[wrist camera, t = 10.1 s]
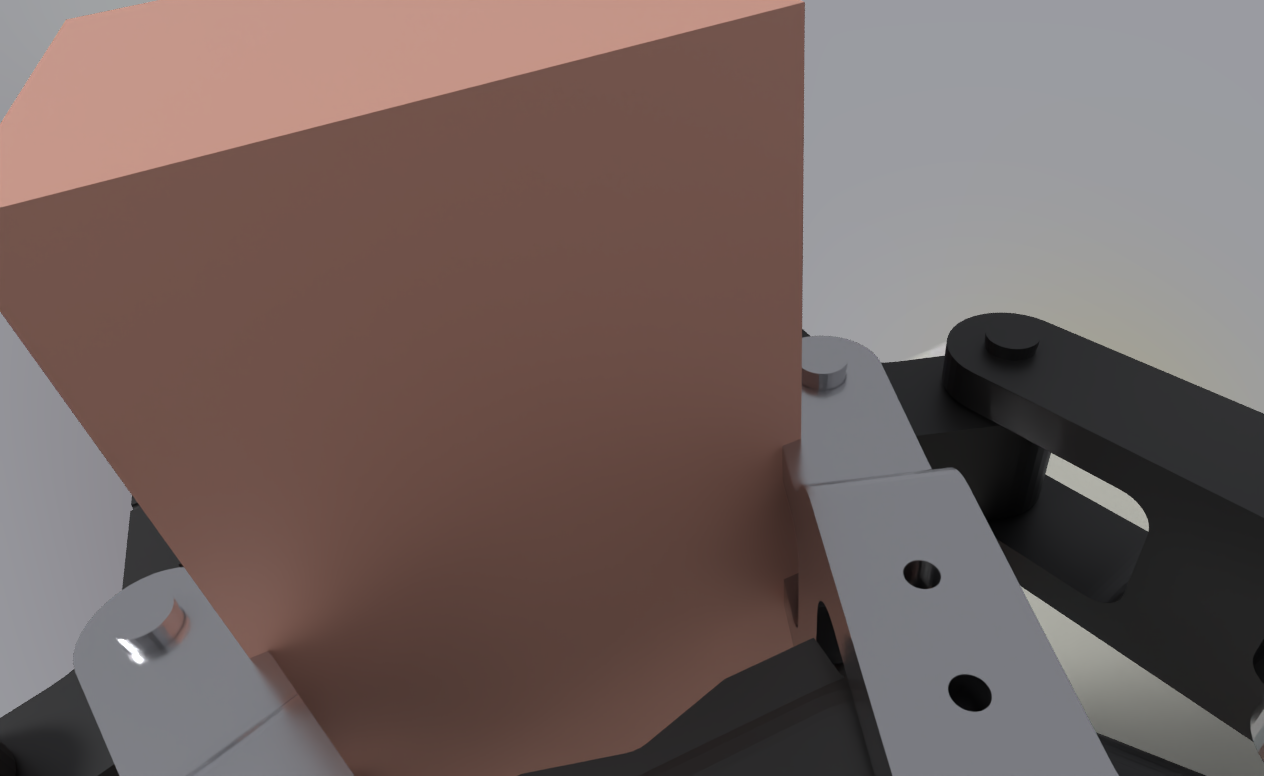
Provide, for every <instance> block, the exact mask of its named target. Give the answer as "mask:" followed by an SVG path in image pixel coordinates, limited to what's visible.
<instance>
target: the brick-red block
mask: <svg viewBox="0 0 1264 776" xmlns="http://www.w3.org/2000/svg"><path fill="white" fill-rule="evenodd" d="M804 19H805V3H804V2H803V1H800V0H157V1H153V2H148V3H144V4H138V5H134V6H129V7H124V8H119V9H115V10H110V11H105V12H101V13H96V14H91V15H86V16H81V17H77V18H72V19H67V20H66V21H65V22H64V24H63V25H62V27H61V28H60V30H59V32H58V33H57V35H56V37H55V38H54V40H53V41H52V43H51V44H50V46H49V47H48V49H47V51H46V52H45V54H44V55H43V57H42V59H41V60H40V62H39V63H38V65H37V66H36V68H35V70H34V71H33V73H32V74H31V76H30V78H29V79H28V81H27V82H26V84H25V85H24V87H23V89H22V90H21V92H20V93H19V95H18V96H17V98H16V100H15V101H14V103H13V104H12V106H11V108H10V109H9V111H8V112H7V114H6V115H5V117H4V119H3V120H2V122H1V124H0V312H1V313H2V315H3V316H4V317H5V319H6V320H7V322H8V323H9V325H10V326H11V327H12V328H13V330H14V331H15V333H16V334H17V336H18V337H19V338H20V340H21V341H22V342H23V344H24V345H25V347H26V348H27V350H28V351H29V352H30V354H31V355H32V357H33V358H34V359H35V361H36V362H37V363H38V365H39V366H40V368H41V369H42V370H43V372H44V373H45V375H46V376H47V377H48V379H49V380H50V382H51V383H52V384H53V386H54V387H55V388H56V390H57V391H58V392H59V394H60V395H61V397H62V398H63V399H64V401H65V402H66V404H67V405H68V406H69V408H70V409H71V411H72V412H73V413H74V415H75V416H76V418H77V419H78V420H79V422H80V423H81V425H82V426H83V427H84V429H85V430H86V432H87V433H88V434H89V436H90V437H91V438H92V440H93V441H94V443H95V444H96V445H97V447H98V448H99V450H100V451H101V452H102V454H103V455H104V457H105V458H106V459H107V461H108V462H109V463H110V465H111V466H112V468H113V469H114V471H115V472H116V473H117V475H118V476H119V477H120V479H121V480H122V482H123V483H124V484H125V486H126V487H127V489H128V490H129V491H130V493H131V494H132V496H133V497H134V498H135V500H136V501H137V503H138V504H139V505H140V507H141V508H142V509H143V511H144V512H145V514H146V515H147V516H148V518H149V519H150V521H151V522H152V523H153V525H154V526H155V528H156V529H157V530H158V532H159V533H160V535H161V536H162V537H163V539H164V540H165V541H166V543H167V544H168V546H169V547H170V548H171V550H172V551H173V553H174V554H175V555H176V557H177V558H178V560H179V561H180V562H181V564H182V565H183V566H184V568H185V569H186V571H187V572H188V573H189V575H190V576H191V578H192V579H193V580H194V582H195V583H196V585H197V586H198V587H199V589H200V590H201V592H202V593H203V594H204V596H205V597H206V598H207V600H208V601H209V603H210V604H211V605H212V607H213V608H214V610H215V611H216V612H217V614H218V615H219V617H220V618H221V619H222V621H223V622H224V624H225V625H226V626H227V628H228V629H229V630H230V632H231V633H232V635H233V636H234V637H235V639H236V640H237V642H238V643H239V644H240V646H241V647H242V649H243V650H244V651H245V653H246V654H247V655H248V657H249V658H252V657H254V656H257V655H259V654H262V653H264V652H267V651H269V652H270V654H271V655H272V657H273V658H274V660H275V661H276V662H277V664H278V665H279V667H280V668H281V670H282V671H283V673H284V674H285V676H286V677H287V678H288V680H289V681H290V683H291V684H292V686H293V687H294V689H295V690H296V692H297V693H298V694H299V696H300V697H301V699H302V700H303V702H304V703H305V705H306V706H307V708H308V709H309V710H310V712H311V713H312V715H313V716H314V718H315V719H316V721H317V722H318V724H319V725H320V726H321V728H322V729H323V731H324V732H325V734H326V735H327V737H328V738H329V740H330V741H331V742H332V744H333V745H334V747H335V748H336V750H337V751H338V753H339V754H340V756H341V757H342V758H343V760H344V761H345V763H346V764H347V766H348V767H349V769H350V770H351V772H352V773H353V774H354V776H518V775H520V774H523V773H528V772H533V771H538V770H543V769H548V768H553V767H558V766H564V765H569V764H574V763H579V762H584V761H589V760H594V759H599V758H604V757H609V756H614V755H619V754H624V753H628V752H632V751H634V750H636V749H639V748H641V747H642V746H644V745H645V744H646V743H648V742H649V741H650V740H651V739H653V738H654V737H655V736H656V735H657V734H659V733H660V732H661V731H662V730H663V729H665V728H666V727H667V726H668V725H670V724H671V723H672V722H673V721H674V720H676V719H677V718H678V717H679V716H680V715H682V714H683V713H684V712H685V711H686V710H688V709H689V708H690V707H691V706H692V705H694V704H695V703H696V702H697V701H699V700H700V699H701V698H702V697H703V696H705V695H706V694H707V693H708V692H709V691H711V690H712V689H713V688H714V687H715V686H717V685H718V684H719V683H720V682H722V681H723V680H724V679H726V678H728V677H730V676H732V675H734V674H736V673H739V672H741V671H743V670H745V669H747V668H749V667H751V666H754V665H756V664H758V663H760V662H762V661H764V660H766V659H769V658H771V657H773V656H775V655H777V654H779V653H781V652H784V651H786V650H788V649H790V648H792V647H793V642H792V638H791V634H790V629H789V625H788V621H787V616H786V612H785V608H784V579H786V578H788V577H790V576H793V575H795V574H797V573H799V555H798V545H797V538H796V532H795V526H794V522H793V517H792V514H791V510H790V506H789V502H788V499H787V495H786V491H785V488H784V484H783V471H782V446H784V445H786V444H789V443H791V442H794V441H796V440H799V439H801V396H802V271H803V270H802V269H803V268H802V267H803V146H804V144H803V143H804V140H803V139H804V22H805V21H804Z"/></svg>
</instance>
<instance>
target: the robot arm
mask: <svg viewBox="0 0 1264 776" xmlns="http://www.w3.org/2000/svg"><path fill="white" fill-rule="evenodd" d="M1051 453H1053V454H1055V455H1057V456H1058V457H1060V458H1062V459H1064V460H1066V461H1068V462H1070V463H1072V464H1073V465H1075V466H1077V467H1079V468H1081V469H1083V470H1085V471H1086V472H1088V473H1090V474H1092V475H1094V476H1096V477H1098V478H1100V479H1101V480H1103V481H1105V482H1107V483H1109V484H1111V485H1113V486H1115V487H1116V488H1118V489H1120V490H1122V491H1124V492H1125V493H1127V494H1128V495H1129V496H1131V497H1132V498H1133V499H1134V500H1135V501H1136V502H1137V503H1138V504H1139V505H1140V506H1141V507H1142V509H1143V510H1144V512H1145V514H1146V516H1147V519H1148V522H1149V532H1148V531H1146V530H1144V529H1142V528H1140V527H1139V526H1137V525H1135V524H1133V523H1131V522H1130V521H1128V520H1126V519H1124V518H1122V517H1121V516H1119V515H1117V514H1115V513H1113V512H1112V511H1110V510H1108V509H1106V508H1105V507H1103V506H1101V505H1099V504H1097V503H1096V502H1094V501H1092V500H1090V499H1088V498H1087V497H1085V496H1083V495H1081V494H1079V493H1078V492H1076V491H1074V490H1072V489H1070V488H1069V487H1067V486H1065V485H1063V484H1061V483H1060V482H1058V481H1056V480H1054V479H1053V478H1051V477H1049V476H1047V475H1045V473H1046V469H1047V465H1048V462H1049V458H1050V454H1051ZM782 471H783V484H784V488H785V491H786V495H787V499H788V502H789V506H790V510H791V514H792V517H793V522H794V526H795V532H796V538H797V545H798V555H799V573H797V574H795V575H793V576H790V577H788V578H786V579H784V608H785V612H786V616H787V621H788V625H789V629H790V634H791V638H792V642H793V647H792V648H790V649H788V650H786V651H784V652H781V653H779V654H777V655H775V656H773V657H771V658H769V659H766V660H764V661H762V662H760V663H758V664H756V665H754V666H751V667H749V668H747V669H745V670H743V671H741V672H739V673H736V674H734V675H732V676H730V677H728V678H726V679H724V680H723V681H722V682H720V683H719V684H718V685H717V686H715V687H714V688H713V689H712V690H711V691H709V692H708V693H707V694H706V695H705V696H703V697H702V698H701V699H700V700H699V701H697V702H696V703H695V704H694V705H692V706H691V707H690V708H689V709H688V710H686V711H685V712H684V713H683V714H682V715H680V716H679V717H678V718H677V719H676V720H674V721H673V722H672V723H671V724H670V725H668V726H667V727H666V728H665V729H663V730H662V731H661V732H660V733H659V734H657V735H656V736H655V737H654V738H653V739H651V740H650V741H649V742H648V743H646V744H645V745H644V746H642V747H641V748H639V749H636V750H634V751H632V752H628V753H624V754H619V755H614V756H609V757H604V758H599V759H594V760H589V761H584V762H579V763H574V764H569V765H564V766H558V767H553V768H548V769H543V770H538V771H533V772H528V773H523V774H520V775H518V776H1205V775H1203V774H1200V773H1198V772H1195V771H1193V770H1190V769H1188V768H1185V767H1183V766H1180V765H1177V764H1175V763H1172V762H1170V761H1167V760H1165V759H1162V758H1160V757H1157V756H1155V755H1152V754H1150V753H1147V752H1145V751H1142V750H1139V749H1137V748H1134V747H1132V746H1129V745H1127V744H1124V743H1122V742H1119V741H1117V740H1114V739H1112V738H1109V737H1106V736H1104V735H1101V734H1099V733H1096V732H1095V730H1094V728H1093V726H1092V724H1091V722H1090V720H1089V718H1088V716H1087V714H1086V713H1085V711H1084V709H1083V707H1082V705H1081V703H1080V701H1079V699H1078V697H1077V695H1076V693H1075V691H1074V689H1073V687H1072V685H1071V683H1070V681H1069V680H1068V678H1067V676H1066V674H1065V672H1064V670H1063V668H1062V666H1061V664H1060V662H1059V660H1058V658H1057V656H1056V654H1055V652H1054V650H1053V648H1052V647H1051V645H1050V643H1049V641H1048V639H1047V637H1046V635H1045V633H1044V631H1043V629H1042V627H1041V625H1040V623H1039V621H1038V619H1037V617H1036V615H1035V614H1034V612H1033V610H1032V608H1031V606H1030V604H1029V602H1028V600H1027V598H1026V596H1025V594H1024V592H1023V590H1022V588H1021V587H1023V588H1024V589H1026V590H1027V591H1029V592H1030V593H1032V594H1033V595H1035V596H1036V597H1038V598H1039V599H1041V600H1042V601H1044V602H1045V603H1047V604H1048V605H1050V606H1051V607H1053V608H1054V609H1056V610H1057V611H1059V612H1060V613H1062V614H1063V615H1065V616H1066V617H1068V618H1069V619H1071V620H1072V621H1074V622H1075V623H1077V624H1078V625H1080V626H1081V627H1083V628H1084V629H1086V630H1087V631H1089V632H1090V633H1092V634H1093V635H1095V636H1096V637H1098V638H1099V639H1101V640H1102V641H1104V642H1105V643H1107V644H1108V645H1110V646H1111V647H1113V648H1114V649H1115V650H1117V651H1118V652H1120V653H1121V654H1123V655H1124V656H1126V657H1127V658H1129V659H1130V660H1132V661H1133V662H1135V663H1136V664H1138V665H1139V666H1141V667H1142V668H1144V669H1145V670H1147V671H1148V672H1150V673H1151V674H1153V675H1154V676H1156V677H1157V678H1159V679H1160V680H1162V681H1163V682H1165V683H1166V684H1168V685H1169V686H1171V687H1172V688H1174V689H1175V690H1177V691H1178V692H1180V693H1181V694H1183V695H1184V696H1186V697H1187V698H1189V699H1190V700H1192V701H1193V702H1195V703H1196V704H1198V705H1199V706H1201V707H1202V708H1204V709H1205V710H1206V711H1208V712H1209V713H1211V714H1212V715H1214V716H1215V717H1217V718H1218V719H1220V720H1221V721H1223V722H1224V723H1226V724H1227V725H1229V726H1230V727H1232V728H1233V729H1235V730H1236V731H1238V732H1239V733H1241V734H1242V735H1244V736H1245V737H1247V738H1248V739H1250V740H1251V741H1253V742H1254V744H1255V747H1256V749H1257V751H1258V753H1259V755H1260V757H1261V758H1262V760H1263V762H1264V414H1263V413H1261V412H1258V411H1256V410H1253V409H1251V408H1249V407H1246V406H1244V405H1242V404H1239V403H1237V402H1235V401H1232V400H1230V399H1228V398H1225V397H1223V396H1220V395H1218V394H1216V393H1213V392H1211V391H1209V390H1206V389H1204V388H1202V387H1199V386H1197V385H1194V384H1192V383H1190V382H1187V381H1185V380H1183V379H1180V378H1178V377H1176V376H1173V375H1171V374H1169V373H1166V372H1164V371H1161V370H1159V369H1157V368H1154V367H1152V366H1150V365H1147V364H1145V363H1143V362H1140V361H1138V360H1135V359H1133V358H1131V357H1128V356H1126V355H1124V354H1121V353H1119V352H1116V351H1114V350H1112V349H1109V348H1107V347H1105V346H1102V345H1100V344H1097V343H1095V342H1093V341H1090V340H1088V339H1086V338H1083V337H1081V336H1078V335H1076V334H1074V333H1071V332H1069V331H1067V330H1064V329H1062V328H1060V327H1057V326H1055V325H1053V324H1050V323H1048V322H1045V321H1043V320H1040V319H1037V318H1034V317H1030V316H1026V315H1020V314H1014V313H989V314H982V315H977V316H973V317H971V318H968V319H965V320H964V321H962V322H960V323H958V324H957V325H956V326H955V327H954V328H953V329H952V330H951V331H950V333H949V335H948V338H947V344H946V351H945V356H939V357H931V358H923V359H915V360H907V361H900V362H889V363H881V362H880V361H879V359H878V357H877V356H876V355H875V354H874V353H873V352H872V351H870V350H869V349H868V348H866V347H864V346H863V345H861V344H859V343H857V342H854V341H851V340H848V339H844V338H840V337H832V336H810V335H808V334H807V333H806V332H805V331H804V330H803V329H802V396H801V439H799V440H796V441H794V442H791V443H789V444H786V445H784V446H782ZM131 505H132V507H133V510H132V511H131V512H130V521H129V531H128V540H127V550H126V559H125V569H124V579H123V588H122V591H120V592H119V593H118V594H116V595H115V596H114V597H112V598H111V599H110V600H109V601H108V602H106V603H105V604H104V605H103V606H102V607H101V608H100V609H99V610H98V611H97V612H96V613H95V614H94V616H93V617H92V618H91V619H90V620H89V622H88V623H87V625H86V626H85V628H84V629H83V631H82V632H81V634H80V637H79V639H78V641H77V643H76V646H75V650H74V654H73V665H74V670H72V671H71V672H70V673H69V674H68V675H66V676H65V677H64V678H62V679H61V680H59V681H58V682H56V683H55V684H54V685H52V686H51V687H49V688H47V689H46V690H44V691H42V692H41V693H39V694H38V695H36V696H35V697H33V698H31V699H30V700H28V701H27V702H25V703H23V704H22V705H20V706H19V707H17V708H16V709H14V710H13V711H11V712H9V713H8V714H6V715H4V716H3V717H1V718H0V776H354V774H353V773H352V772H351V770H350V769H349V767H348V766H347V764H346V763H345V761H344V760H343V758H342V757H341V756H340V754H339V753H338V751H337V750H336V748H335V747H334V745H333V744H332V742H331V741H330V740H329V738H328V737H327V735H326V734H325V732H324V731H323V729H322V728H321V726H320V725H319V724H318V722H317V721H316V719H315V718H314V716H313V715H312V713H311V712H310V710H309V709H308V708H307V706H306V705H305V703H304V702H303V700H302V699H301V697H300V696H299V694H298V693H297V692H296V690H295V689H294V687H293V686H292V684H291V683H290V681H289V680H288V678H287V677H286V676H285V674H284V673H283V671H282V670H281V668H280V667H279V665H278V664H277V662H276V661H275V660H274V658H273V657H272V655H271V654H270V652H269V651H267V652H264V653H262V654H259V655H257V656H254V657H252V658H249V657H248V655H247V654H246V653H245V651H244V650H243V649H242V647H241V646H240V644H239V643H238V642H237V640H236V639H235V637H234V636H233V635H232V633H231V632H230V630H229V629H228V628H227V626H226V625H225V624H224V622H223V621H222V619H221V618H220V617H219V615H218V614H217V612H216V611H215V610H214V608H213V607H212V605H211V604H210V603H209V601H208V600H207V598H206V597H205V596H204V594H203V593H202V592H201V590H200V589H199V587H198V586H197V585H196V583H195V582H194V580H193V579H192V578H191V576H190V575H189V573H188V572H187V571H186V569H185V568H184V566H183V565H182V564H181V562H180V561H179V560H178V558H177V557H176V555H175V554H174V553H173V551H172V550H171V548H170V547H169V546H168V544H167V543H166V541H165V540H164V539H163V537H162V536H161V535H160V533H159V532H158V530H157V529H156V528H155V526H154V525H153V523H152V522H151V521H150V519H149V518H148V516H147V515H146V514H145V512H144V511H143V509H142V508H141V507H140V505H139V504H138V503H137V501H136V500H135V498H134V497H133V496H132V503H131Z"/></svg>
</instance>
